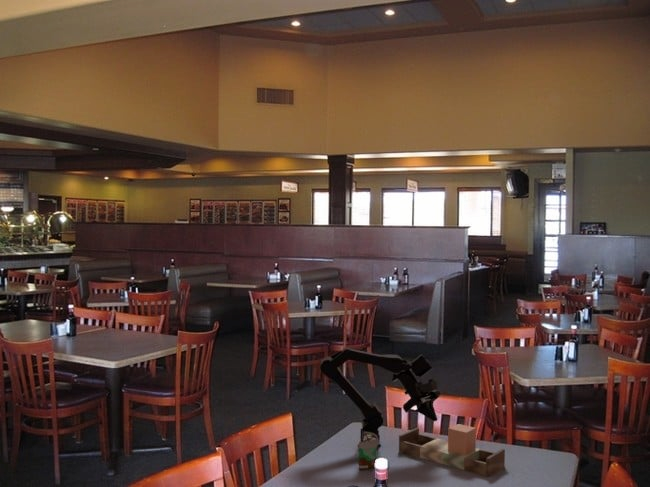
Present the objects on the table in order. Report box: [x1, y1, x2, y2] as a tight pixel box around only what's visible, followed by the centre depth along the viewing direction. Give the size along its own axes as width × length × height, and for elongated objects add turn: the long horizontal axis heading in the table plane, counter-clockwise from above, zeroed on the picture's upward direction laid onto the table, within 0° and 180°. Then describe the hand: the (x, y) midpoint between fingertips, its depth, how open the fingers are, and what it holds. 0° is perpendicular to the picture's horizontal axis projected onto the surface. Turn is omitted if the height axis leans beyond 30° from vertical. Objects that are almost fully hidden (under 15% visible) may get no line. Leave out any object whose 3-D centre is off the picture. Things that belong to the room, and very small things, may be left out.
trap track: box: [398, 427, 506, 478], centre depth 228 cm, size 36×12×6 cm, turn 50°
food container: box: [358, 432, 379, 471], centre depth 220 cm, size 12×6×10 cm, turn 168°
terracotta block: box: [447, 423, 477, 456], centre depth 225 cm, size 7×7×8 cm
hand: (436, 420), depth 231 cm, fingers closed
